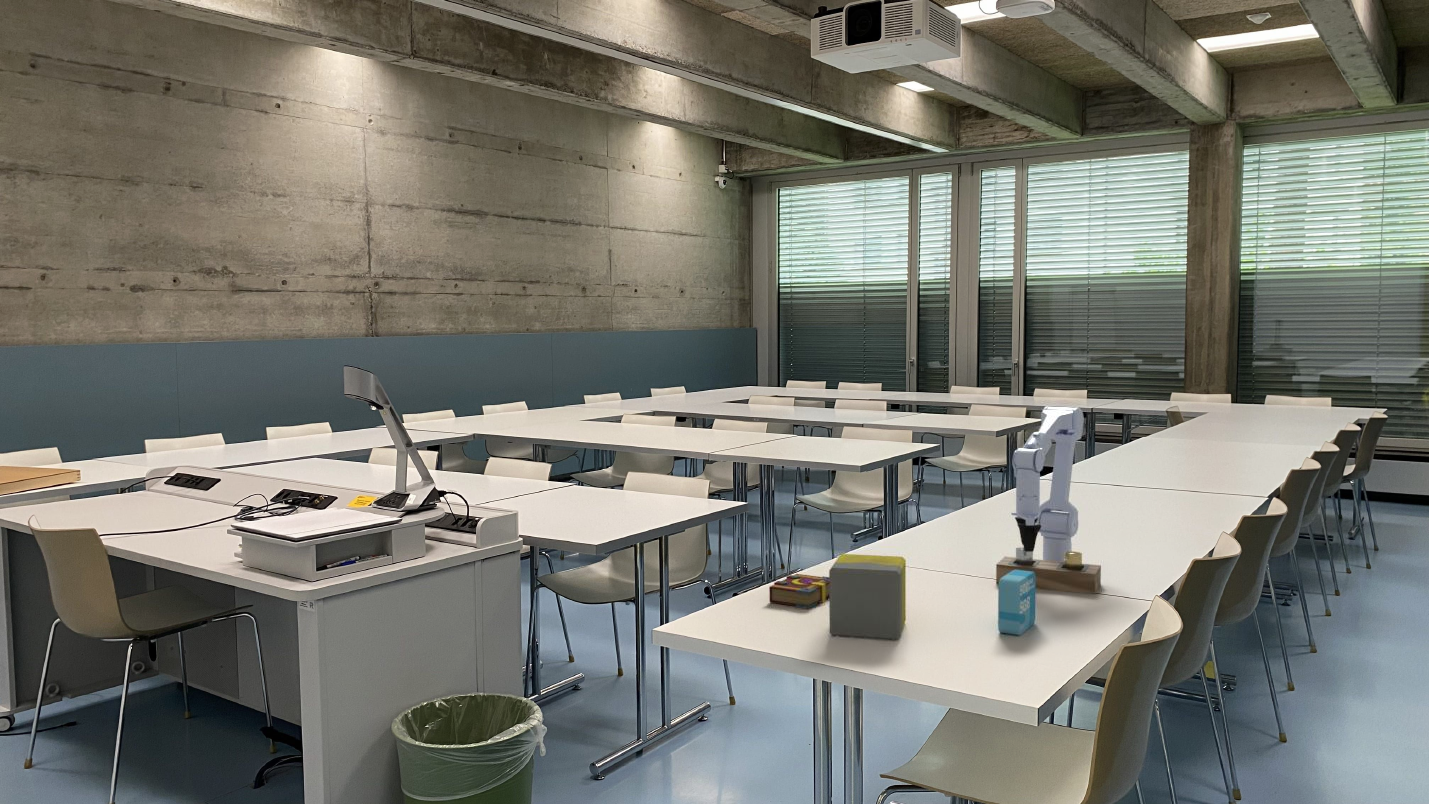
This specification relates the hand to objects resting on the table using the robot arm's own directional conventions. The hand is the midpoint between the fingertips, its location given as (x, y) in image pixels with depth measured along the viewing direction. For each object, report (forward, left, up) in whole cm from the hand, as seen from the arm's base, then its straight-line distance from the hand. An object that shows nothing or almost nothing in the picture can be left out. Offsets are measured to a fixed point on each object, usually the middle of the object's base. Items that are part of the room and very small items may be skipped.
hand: (1027, 547), depth 258 cm
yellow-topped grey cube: (+50, -24, -10) cm, 56 cm away
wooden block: (-2, +5, -9) cm, 11 cm away
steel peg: (-2, -1, -6) cm, 6 cm away
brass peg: (-2, +11, -6) cm, 12 cm away
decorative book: (+37, -46, -10) cm, 60 cm away
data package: (+40, +6, -10) cm, 41 cm away
